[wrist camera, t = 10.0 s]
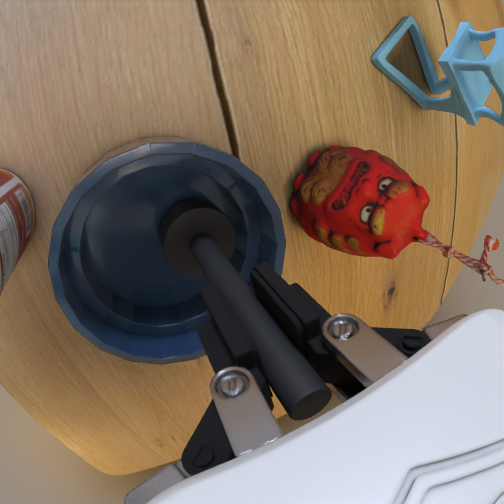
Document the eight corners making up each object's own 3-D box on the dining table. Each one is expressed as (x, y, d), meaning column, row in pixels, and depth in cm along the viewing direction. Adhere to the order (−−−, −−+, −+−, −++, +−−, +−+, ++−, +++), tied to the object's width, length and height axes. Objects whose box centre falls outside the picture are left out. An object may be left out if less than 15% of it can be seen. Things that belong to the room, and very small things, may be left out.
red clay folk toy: (320, 124, 21) (516, 170, 9) (372, 172, 25) (529, 237, 12) (268, 211, 22) (435, 333, 10) (329, 246, 26) (469, 349, 14)
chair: (414, 126, 25) (525, 154, 15) (369, 58, 20) (501, 60, 10) (442, 78, 24) (542, 94, 14) (404, 15, 19) (517, 10, 9)
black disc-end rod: (172, 273, 20) (257, 463, 9) (149, 213, 18) (218, 402, 6) (233, 248, 21) (368, 403, 10) (216, 188, 19) (378, 318, 7)
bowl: (114, 341, 22) (119, 388, 18) (33, 184, 15) (7, 207, 11) (267, 278, 25) (298, 312, 21) (227, 110, 18) (260, 110, 14)
